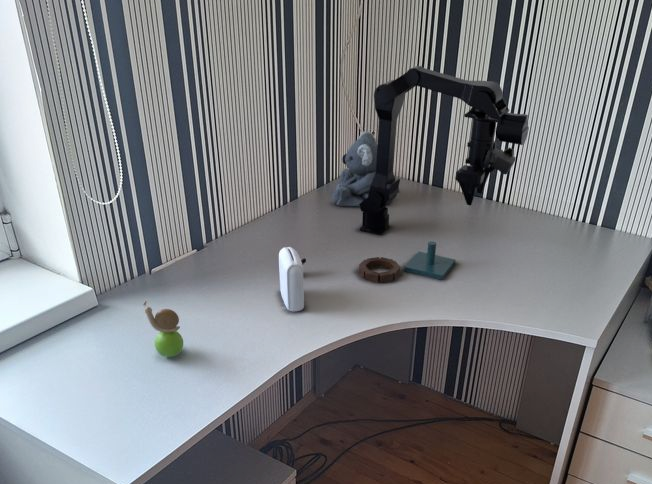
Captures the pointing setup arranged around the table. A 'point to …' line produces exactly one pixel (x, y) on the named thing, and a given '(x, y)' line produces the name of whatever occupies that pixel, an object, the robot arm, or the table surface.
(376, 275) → the ring
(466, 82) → the robot arm
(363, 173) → the koala plush
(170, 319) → the snail figurine
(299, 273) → the white toy toaster
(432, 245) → the post stand
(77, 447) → the table surface
